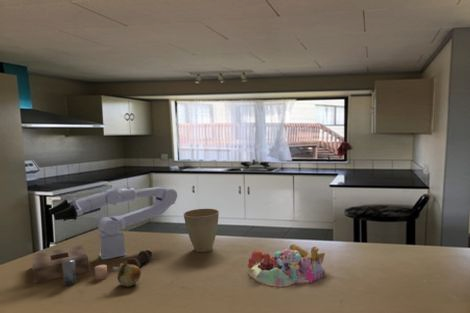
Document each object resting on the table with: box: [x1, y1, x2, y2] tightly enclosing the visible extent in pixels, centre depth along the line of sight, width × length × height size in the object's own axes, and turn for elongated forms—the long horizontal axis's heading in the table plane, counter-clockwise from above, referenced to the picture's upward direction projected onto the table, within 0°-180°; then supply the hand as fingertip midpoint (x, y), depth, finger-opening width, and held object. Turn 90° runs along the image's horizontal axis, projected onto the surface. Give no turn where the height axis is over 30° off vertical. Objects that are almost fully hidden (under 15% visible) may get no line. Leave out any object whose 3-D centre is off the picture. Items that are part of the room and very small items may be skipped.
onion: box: [112, 261, 142, 288], centre depth 120 cm, size 8×8×8 cm
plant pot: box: [183, 208, 220, 253], centre depth 152 cm, size 15×15×16 cm
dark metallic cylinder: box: [62, 259, 78, 287], centre depth 123 cm, size 4×4×8 cm
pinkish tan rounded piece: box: [94, 264, 109, 281], centre depth 127 cm, size 4×4×4 cm
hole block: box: [32, 245, 90, 284], centre depth 137 cm, size 18×18×5 cm
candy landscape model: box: [247, 243, 326, 288], centre depth 124 cm, size 25×24×9 cm
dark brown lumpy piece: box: [125, 249, 153, 268], centre depth 138 cm, size 6×5×15 cm
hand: (52, 214), depth 136 cm, fingers open, 7 cm apart
